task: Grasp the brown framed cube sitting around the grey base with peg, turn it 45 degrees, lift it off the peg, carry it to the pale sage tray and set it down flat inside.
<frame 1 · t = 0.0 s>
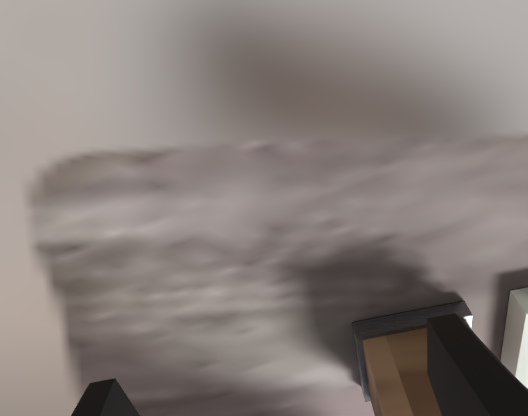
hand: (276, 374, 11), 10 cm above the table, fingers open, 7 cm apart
grey base with peg: (409, 346, 27), on the table
brown framed cube: (415, 361, 26), point 1 cm above the table, touching grey base with peg
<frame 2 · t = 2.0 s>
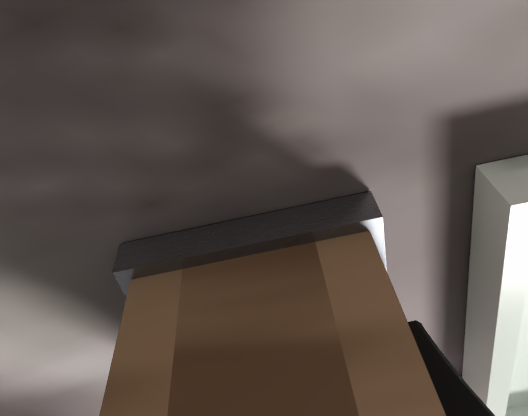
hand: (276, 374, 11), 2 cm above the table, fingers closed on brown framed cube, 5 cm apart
grey base with peg: (268, 304, 13), on the table
brown framed cube: (271, 333, 12), point 1 cm above the table, touching gripper, grey base with peg
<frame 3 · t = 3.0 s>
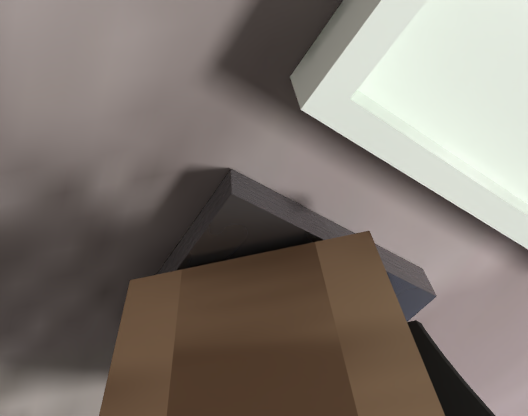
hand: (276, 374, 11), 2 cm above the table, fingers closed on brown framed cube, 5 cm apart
grey base with peg: (268, 299, 13), on the table
brown framed cube: (271, 334, 12), point 1 cm above the table, touching gripper
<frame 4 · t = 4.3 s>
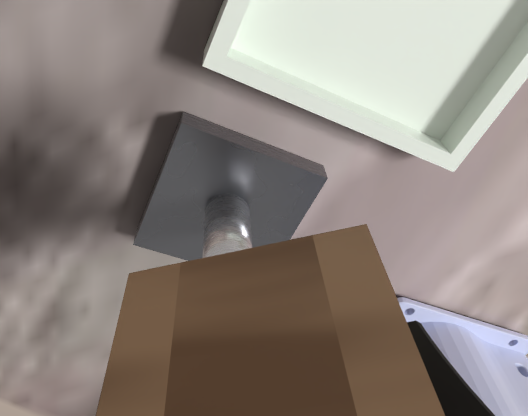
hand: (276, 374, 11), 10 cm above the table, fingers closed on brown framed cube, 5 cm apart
grey base with peg: (227, 198, 20), on the table
brown framed cube: (269, 327, 12), point 9 cm above the table, touching gripper
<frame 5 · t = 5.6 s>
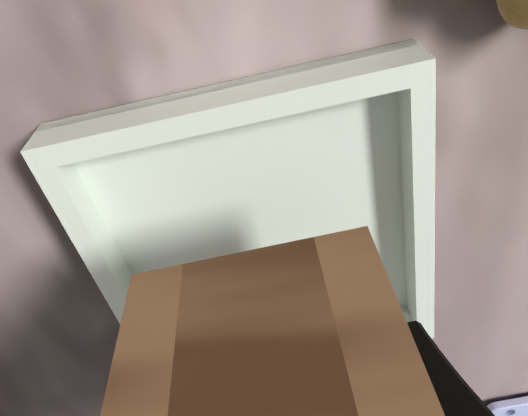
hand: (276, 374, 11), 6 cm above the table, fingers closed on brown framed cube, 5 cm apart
tray: (261, 229, 16), on the table
brown framed cube: (271, 328, 12), point 4 cm above the table, touching gripper
when the fingers open (4 cm above the table, at t = 6.5 s): brown framed cube drops 2 cm, resting on tray.
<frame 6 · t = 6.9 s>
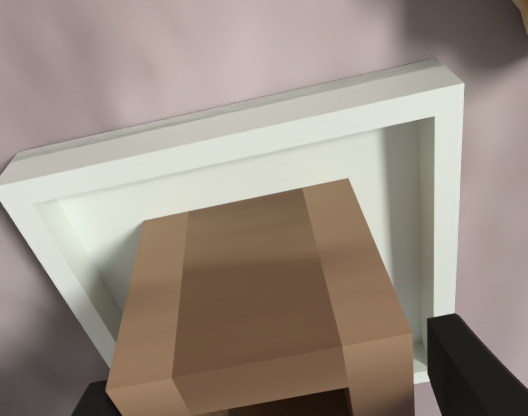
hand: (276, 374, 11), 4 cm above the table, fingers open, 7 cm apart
tray: (264, 262, 14), on the table
brown framed cube: (265, 274, 14), resting on tray
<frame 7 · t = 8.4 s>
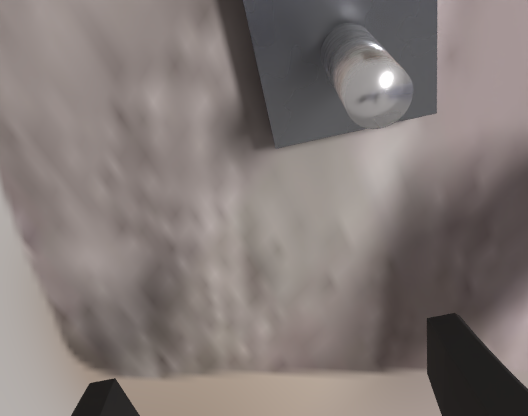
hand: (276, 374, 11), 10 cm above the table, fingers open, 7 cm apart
grey base with peg: (340, 42, 17), on the table
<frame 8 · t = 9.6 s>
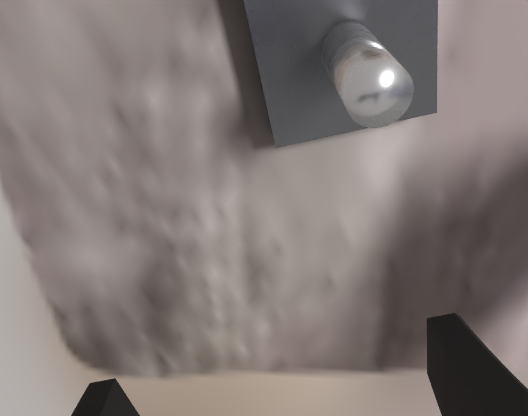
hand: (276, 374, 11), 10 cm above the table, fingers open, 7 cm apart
grey base with peg: (340, 41, 17), on the table
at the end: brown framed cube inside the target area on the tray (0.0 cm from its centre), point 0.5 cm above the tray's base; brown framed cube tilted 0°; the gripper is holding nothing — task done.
